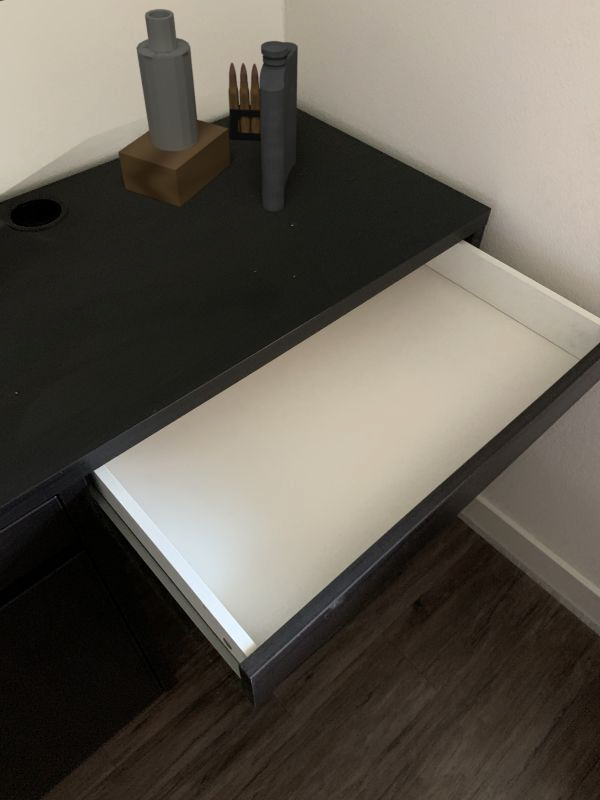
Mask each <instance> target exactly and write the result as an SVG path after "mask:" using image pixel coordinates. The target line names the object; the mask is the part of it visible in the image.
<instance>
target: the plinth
mask: <svg viewBox="0 0 600 800" xmlns="http://www.w3.org/2000/svg"><path fill="white" fill-rule="evenodd" d="M197 121H198V132H199V140H198V143H197V144H196V145H195V146H193V147H192V148H189V149H187V150H183V151H164V150H160V149H158V148H156V147H154V146H153V144H152V143H151V138H150V133H149V130H147V131H146V132H144V133H143V134H142V135H140V136H139V137H137V138H136V139H135V140H133V141H132V142H130V143H128V144H127V145H126V146H124V147H123V148H122V149H120V150H119V151H118V152H117V154H118V159H119V163H120V168H121V173H122V178H123V184H124V189H125V190H127V191H130V192H132V193H136V194H140V195H142V196H145V197H148V198H150V199H154V200H157V201H160V202H163V203H166V204H168V205H172V206H175V207H178V208H181V207H183V206H184V205H185V204H186V203H188V202H189V201H190V200H191V199H192V198H193V197H194V196H195V195H197V194H198V193H199V192H200V191H202V190H203V189H204V188H205V187H206V186H208V185H209V184H210V183H211V182H212V181H214V179H216V178H217V177H218V176H219V175H220V174H222V173H223V172H224V171H225V170H226V169H227V168H229V166H231V151H230V150H231V149H230V131H229V127H226V126H221V125H217V124H215V123H210V122H207V121H203V120H200V119H197Z"/></svg>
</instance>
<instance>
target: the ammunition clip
mask: <svg viewBox="0 0 600 800" xmlns="http://www.w3.org/2000/svg"><path fill="white" fill-rule="evenodd" d="M259 78H260V76H259V71H258V67H257V64H256V63H253V64H252V67H251V73H250V88H249V79H248V71H247V67H246V65H245V63H244V62H242V63H241V66H240V71H239V88H238V80H237V71H236V68H235V65H234V63H233V62H230V64H229V69H228V89H227V90H228V107H229V108H228V109H229V110H228V111H229V113H228V114H229V115H228V116H229V121H228V122H229V140H235V141H236V140H237V141H257V142H258V141H259V142H261V127H260V87H259Z"/></svg>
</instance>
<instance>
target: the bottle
mask: <svg viewBox="0 0 600 800" xmlns="http://www.w3.org/2000/svg"><path fill="white" fill-rule="evenodd" d="M144 19H145V25H146V27H145V28H146V33H147V39H144V40H142V41H141V42H139V43H138V44H137V46H136V48H135V49H136V54H137V55H136V56H137V61H138V67H139V74H140V81H141V86H142V93H143V94H142V95H143V100H144V106H145V107H144V108H145V113H146V119H147V125H148V131H149V133H150V138H151V143H152V144H153V146H154V147H156V148H158V149H160V150H164V151H183V150H187V149H189V148H192V147H193V146H195V145H196V144H197V143H198V140H199V132H198V121H197V120H198V113H197V112H198V111H197V101H196V92H195V80H194V72H193V71H194V70H193V60H192V50H191V49H192V48H191V46H190V43H189V41H186V40H185V39H183V38H179V37H177V31H176V22H175V21H176V20H175V14H174V12H173V11H172V10H170V9H164V8H155V9H150V10H147V11H146V12H145V14H144Z"/></svg>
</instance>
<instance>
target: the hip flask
mask: <svg viewBox="0 0 600 800" xmlns="http://www.w3.org/2000/svg"><path fill="white" fill-rule="evenodd" d="M260 53H261V55H262V66H261V67H260V72H259V89H260V127H261V141H260V158H261V162H260V164H261V165H260V167H261V200H262V201H261V202H262V203H261V204H262V208H263V209H264V210H265V211H267V212H270V213H271V212H272V213H274V212H279V211H281V210H283V209H284V207H285V189H286V184H287V181H288V178H289V175H290V173H291V171H292V169H294V168H293V167H295V165H296V162H297V121H298V120H297V116H298V115H297V114H298V113H297V111H298V110H297V109H298V108H297V107H298V60H299V57H298V56H299V54H298V53H299V46H298V45H297V44H296V43H295V42H289V41H281V40H280V41H279V40H270V41H265V42H263V43H262V44H261V45H260Z"/></svg>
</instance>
